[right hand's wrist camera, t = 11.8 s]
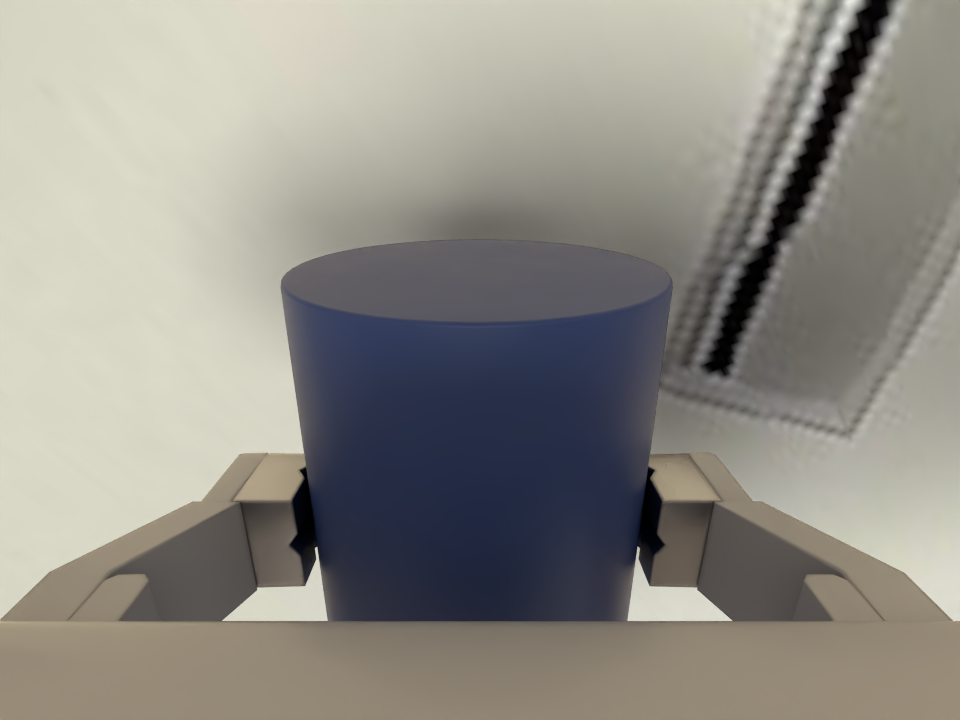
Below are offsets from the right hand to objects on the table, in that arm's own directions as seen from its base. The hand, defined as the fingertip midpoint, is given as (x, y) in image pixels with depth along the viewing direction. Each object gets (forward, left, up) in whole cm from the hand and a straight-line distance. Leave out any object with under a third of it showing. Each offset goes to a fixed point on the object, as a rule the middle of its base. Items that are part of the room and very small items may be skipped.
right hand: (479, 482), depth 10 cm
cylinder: (+3, +8, -3) cm, 9 cm away
